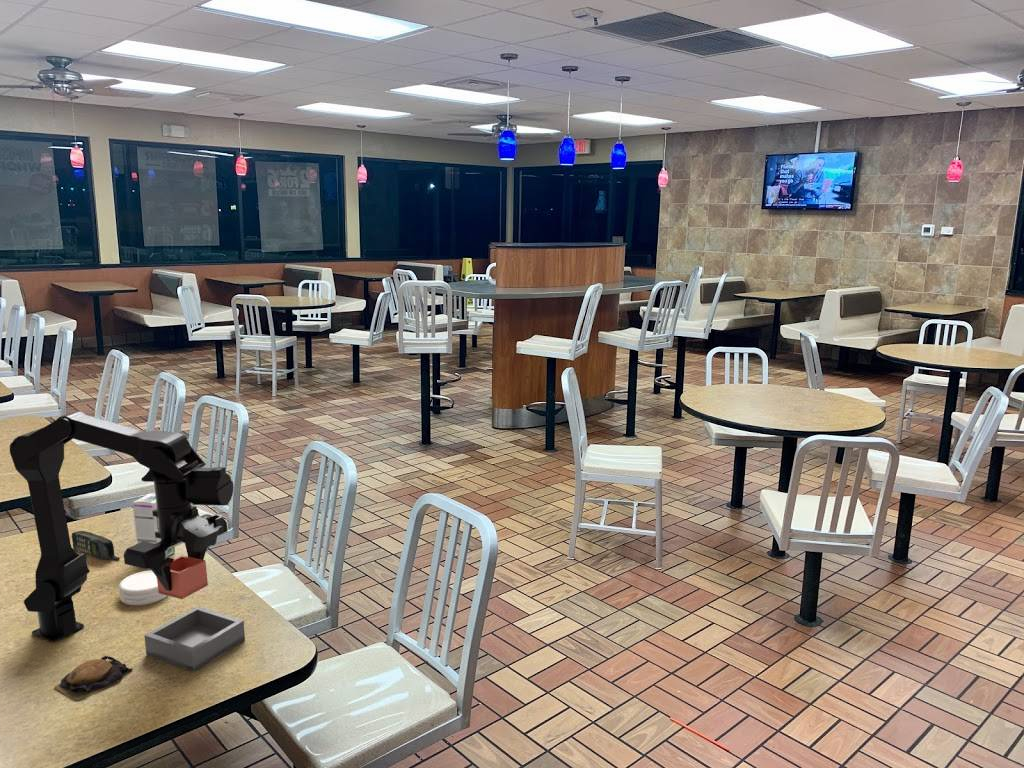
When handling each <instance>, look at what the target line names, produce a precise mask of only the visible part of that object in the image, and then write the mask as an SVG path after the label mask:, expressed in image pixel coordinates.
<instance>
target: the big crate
mask: <svg viewBox="0 0 1024 768" xmlns="http://www.w3.org/2000/svg"><path fill="white" fill-rule="evenodd" d="M244 622H245V621H244V620H242V619H239V618H236V617H233V616H230V615H227V614H224V613H220V612H217V611H214V610H211V609H207V608H204V607H201V606H195V607H194V608H192V609H190V610H189V611H185V613H183V614H180V615H179V616H177V617H175V618H173V619H171V620H170V621H167V622H166V623H164V624H163V625H160V626H159V627H157V628H155V629H153V630H151V631H149V632H147V633H146V634H144V646H145V655H146V656H148V657H150V658H153V659H156V660H158V661H161V662H164V663H165V664H166V663H167V664H170V665H172V666H175V667H177V668H180V669H183V670H186V671H189V672H192V673H195V672H198V670H200V669H201V668H204V666H206V665H208V664H209V663H211V662H212V661H214V660H216V659H218V658H220V656H222V655H223V654H225V653H227V652H229V651H230V650H231V649H233V648H235V647H237V646H238V645H239V644H241V643H243V642H245V640H246V638H245V637H246V634H245V623H244Z"/></svg>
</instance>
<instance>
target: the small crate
mask: <svg viewBox="0 0 1024 768" xmlns="http://www.w3.org/2000/svg"><path fill="white" fill-rule="evenodd" d="M173 559H174V560H173V562H172V563H171V565H170V571H171V581H172V590H171V591H167V590H165V588H164V587H163V585H162V584H161V583H160V581H159V580H158V578H157V584H158V592H159V593H160V594H164V595H168V596H167V597H172V598H175V599H180V600H183V599H184V600H185V598H187V597H189V596H191V595H193V594H195V593H197V592H198V591H200V590H202V589H204V588H206V587H208V586H209V582H208V572H207V563H206V559H204V560H201V559H197V558H193V557H189V556H188V555H185V554H184V555H183V554H182V555H179V556H177V557H175V558H173Z"/></svg>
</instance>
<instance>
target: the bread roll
mask: <svg viewBox="0 0 1024 768" xmlns="http://www.w3.org/2000/svg"><path fill="white" fill-rule="evenodd" d="M130 672H133V668H129V667H128V666H126V663H122V662H120V661H119V660H117V659H115V658H114V657H112V656H108V655H104V656H103V657H101V658H96V659H89V660H87V661H83V662H82V663H80V664H79V665H78V666H76V667H75V668H73V670H72V671H70V672H68V673H67V674H66V675H65V676H64V677H63V678H61V680H60V683H58V684H56V685H55V686H54V687H53V690H55V691H57V692H58V693H60V694H62V695H64V696H66V697H67V698H70V699H71V700H73V701H75V702H80V701H82V700H85V699H87V698H89V697H91V696H93V695H95V694H97V693H99V692H101V691H103V690H105V689H107V688H109V687H110V686H112V685H114V684H115V683H118V682H120V681H121V680H123V679H124V678H126V677H128V676H129V675H131V673H130Z"/></svg>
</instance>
